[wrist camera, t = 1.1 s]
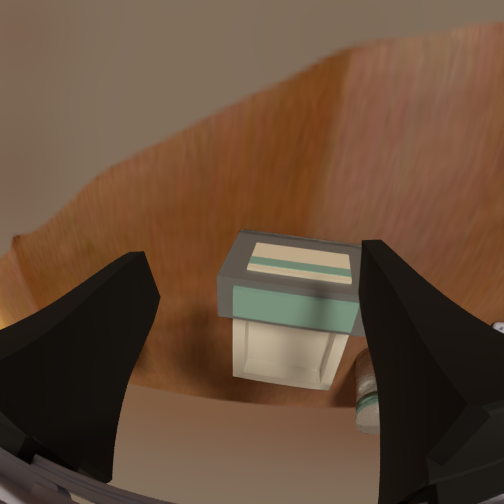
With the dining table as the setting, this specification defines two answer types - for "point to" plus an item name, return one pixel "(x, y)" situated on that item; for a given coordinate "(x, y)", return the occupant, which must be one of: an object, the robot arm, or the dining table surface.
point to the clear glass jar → (366, 395)
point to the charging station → (290, 306)
